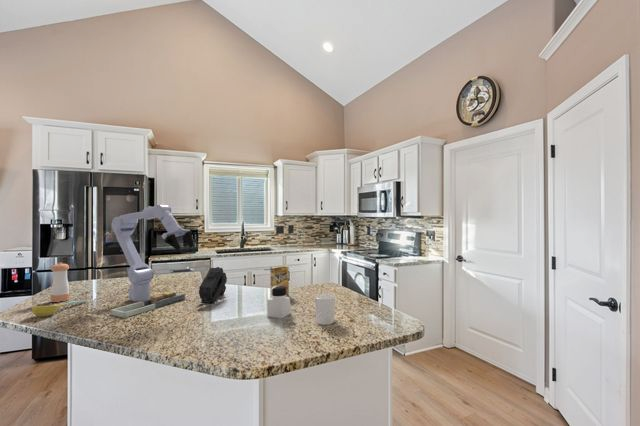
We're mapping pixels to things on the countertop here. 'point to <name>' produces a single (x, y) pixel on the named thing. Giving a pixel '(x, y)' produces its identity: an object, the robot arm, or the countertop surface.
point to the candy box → (280, 277)
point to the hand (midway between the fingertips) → (185, 247)
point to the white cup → (325, 308)
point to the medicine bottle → (278, 303)
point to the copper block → (156, 298)
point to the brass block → (168, 294)
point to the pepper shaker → (60, 283)
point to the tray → (123, 314)
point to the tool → (213, 285)
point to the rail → (165, 301)
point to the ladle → (48, 309)
